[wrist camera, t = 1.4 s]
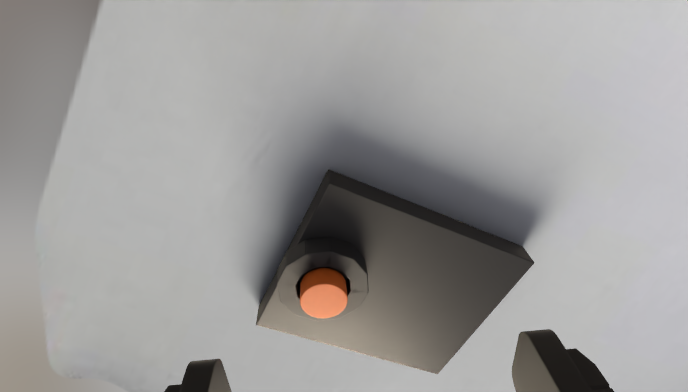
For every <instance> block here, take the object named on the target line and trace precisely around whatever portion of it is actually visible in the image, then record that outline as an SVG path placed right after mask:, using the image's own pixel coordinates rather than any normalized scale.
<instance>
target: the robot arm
mask: <svg viewBox="0 0 688 392" xmlns="http://www.w3.org/2000/svg"><path fill="white" fill-rule="evenodd" d="M512 377H513V382H514V386H515V389H516V392H614V391H613V389H612V388H611V389H610V387H609V384H608V382H607V381H606V379H605V378H604V377H603V375H602V374H601V372H600V371H599V369H598V368H597V366H596V365H595V364H594V363H593V362H591V361H590V360H589V359H588V358H587V357H585V356H584V355H583V354H582V353H581V352H579V351H578V350H577V349H565V347H564V346H563V344H562V343H561V341H560V340H559V338H558V337H557V335H556V334H555V333H554V332H553V331H552V330H550V329H547V330H536V331H525V332H521V333H520V334H519V338H518V342H517V347H516V352H515V357H514V361H513V366H512ZM164 392H231V389H230V386H229V383H228V380H227V376H226V373H225V370H224V367H223V364H222V361H221V360H220V359H212V360H201V361H192V362H190V363H189V364H188V366H187V369H186V372H185V375H184V378H183V381H182V384H181V385H170V386H168V387H167V389H166V390H165V391H164Z"/></svg>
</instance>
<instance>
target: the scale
mask: <svg viewBox="0 0 688 392" xmlns="http://www.w3.org/2000/svg"><path fill="white" fill-rule="evenodd" d="M533 264H534V261H533V260H532V259H531V257H530V256H529V255H528V253H527V252H526V251H525V249H524V248H523V247H522V246H520V245H517V244H515V243H512V242H509V241H507V240H504V239H502V238H499V237H497V236H494V235H492V234H489V233H487V232H484V231H482V230H479V229H477V228H474V227H472V226H469V225H467V224H464V223H462V222H459V221H457V220H454V219H452V218H449V217H447V216H444V215H442V214H439V213H437V212H434V211H432V210H429V209H427V208H424V207H422V206H419V205H417V204H414V203H412V202H409V201H406V200H404V199H401V198H399V197H396V196H394V195H391V194H389V193H386V192H384V191H381V190H379V189H376V188H374V187H371V186H369V185H366V184H364V183H361V182H359V181H356V180H354V179H351V178H349V177H346V176H344V175H341V174H339V173H336V172H334V171H331V170H328V171H327V173H326V175H325V177H324V179H323V181H322V183H321V185H320V187H319V189H318V191H317V193H316V195H315V197H314V199H313V201H312V202H311V204H310V206H309V208H308V210H307V212H306V214H305V216H304V218H303V220H302V222H301V224H300V226H299V228H298V230H297V232H296V234H295V236H294V238H293V240H292V242H291V244H290V246H289V248H288V250H287V252H286V254H285V256H284V258H283V260H282V262H281V264H280V265H279V267H278V270H277V272H276V274H275V276H274V278H273V280H272V282H271V284H270V286H269V287H268V289H267V291H266V293H265V295H264V297H263V299H262V301H261V303H260V305H259V309H258V316H257V322H256V325H258V326H262V327H266V328H269V329H273V330H277V331H280V332H284V333H288V334H291V335H295V336H299V337H302V338H306V339H310V340H314V341H317V342H321V343H325V344H328V345H332V346H336V347H339V348H343V349H347V350H350V351H354V352H358V353H361V354H365V355H369V356H372V357H376V358H380V359H383V360H387V361H391V362H394V363H398V364H402V365H406V366H409V367H413V368H417V369H420V370H424V371H428V372H431V373H435V374H438V373H439V372H440V371H441V370H442V368H443V367H444V366H445V365H446V364H447V363H448V361H449V360H450V359H451V358H452V357H453V356H454V355H455V353H456V352H457V351H458V350H459V349H460V348H461V347H462V345H463V344H464V343H465V342H466V341H467V340H468V338H469V337H470V336H471V335H472V334H473V333H474V332H475V330H476V329H477V328H478V327H479V326H480V325H481V324H482V322H483V321H484V320H485V319H486V318H487V317H488V315H489V314H490V313H491V312H492V311H493V310H494V309H495V307H496V306H497V305H498V304H499V303H500V302H501V301H502V299H503V298H504V297H505V296H506V295H507V294H508V292H509V291H510V290H511V289H512V288H513V287H514V286H515V284H516V283H517V282H518V281H519V280H520V279H521V278H522V276H523V275H524V274H525V273H526V272H527V271H528V269H529V268H530V267H531V266H532V265H533ZM317 268H331V269H334V270H336V271H338V272H339V273H341V274H342V275H343V277H344V278H345V281H346V288H347V297H348V301H347V305H346V307H345V309H344V310H343V311H342V312H341V313H339V314H338V315H336V316H334V317H330V318H316V317H312V316H310V315H308V314H307V313H306V312H305V311H304V310H303V309H302V307H301V305H300V285H301V281H302V279H303V277H304V276H305V275H306V274H307V273H308V272H310V271H312V270H314V269H317Z"/></svg>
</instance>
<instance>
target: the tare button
mask: <svg viewBox="0 0 688 392" xmlns="http://www.w3.org/2000/svg"><path fill="white" fill-rule="evenodd" d="M347 301H348V297H347V288H346V281H345V278H344V277H343V275H342V274H341V273H339V272H338V271H336V270H334V269H331V268H317V269H314V270H312V271H310V272H308V273H307V274H306V275H305V276H304V277H303V279H302V281H301V285H300V305H301V307H302V309H303V310H304V311H305V312H306V313H307V314H308V315H310V316H312V317H316V318H330V317H334V316H336V315H338V314H339V313H341V312H342V311H343V310H344V309H345V307H346V305H347Z"/></svg>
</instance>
